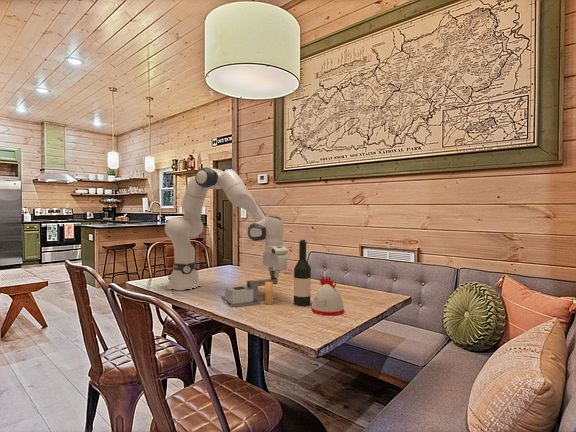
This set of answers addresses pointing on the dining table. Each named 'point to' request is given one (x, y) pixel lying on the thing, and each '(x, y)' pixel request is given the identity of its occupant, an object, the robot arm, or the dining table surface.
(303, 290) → the wine bottle
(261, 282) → the crank handle
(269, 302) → the orange rounded cylinder
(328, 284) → the kitchen timer
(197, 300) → the dining table surface
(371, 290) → the dining table surface
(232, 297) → the mount
